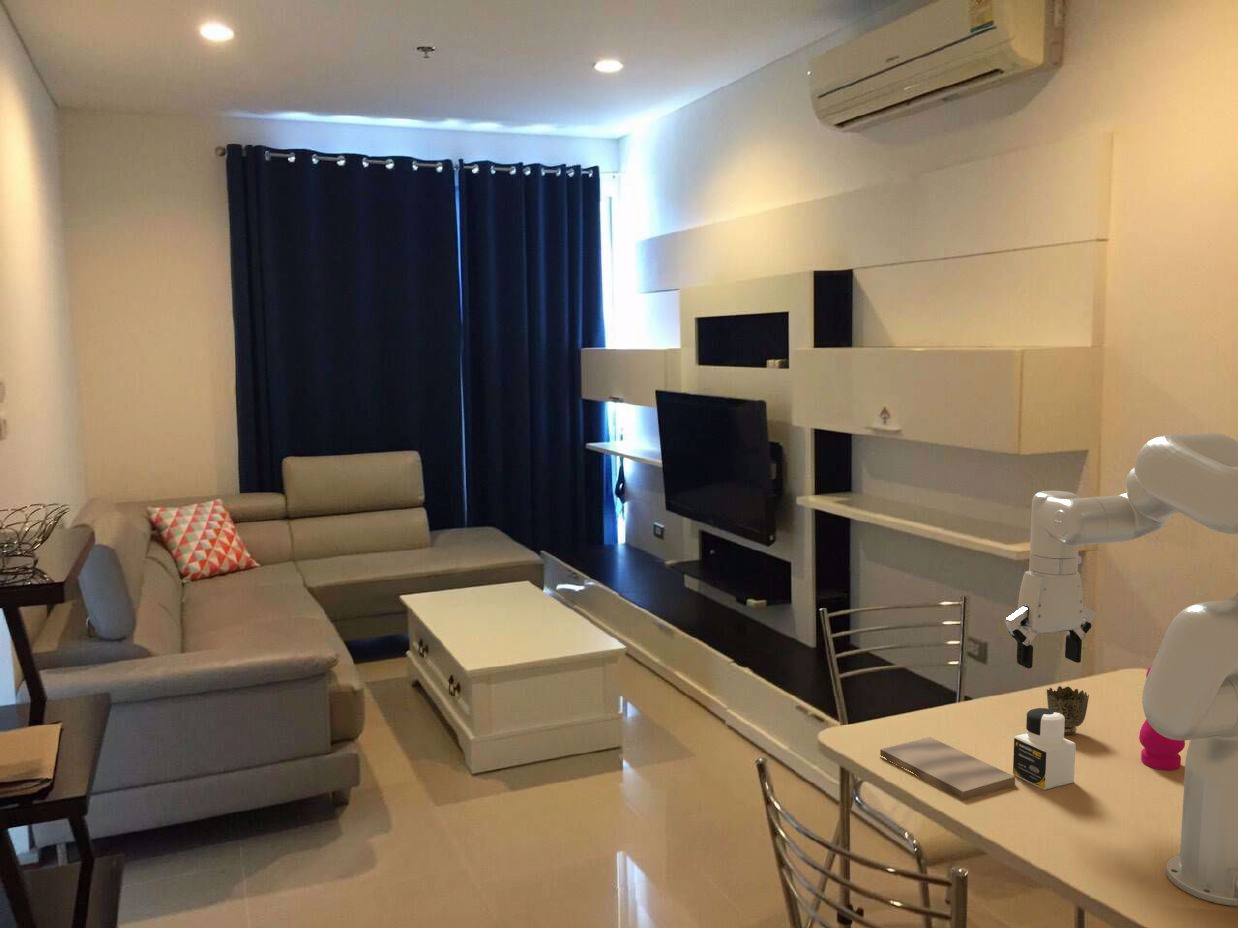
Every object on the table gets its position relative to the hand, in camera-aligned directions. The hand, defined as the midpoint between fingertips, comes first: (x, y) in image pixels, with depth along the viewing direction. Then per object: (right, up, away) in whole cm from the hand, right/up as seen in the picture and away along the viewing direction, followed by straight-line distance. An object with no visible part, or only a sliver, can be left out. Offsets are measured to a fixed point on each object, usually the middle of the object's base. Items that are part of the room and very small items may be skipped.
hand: (1048, 663), depth 176 cm
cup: (+13, -18, +23) cm, 32 cm away
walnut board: (-16, -20, +6) cm, 26 cm away
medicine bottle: (0, -21, +2) cm, 21 cm away
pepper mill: (+23, -20, +8) cm, 32 cm away
